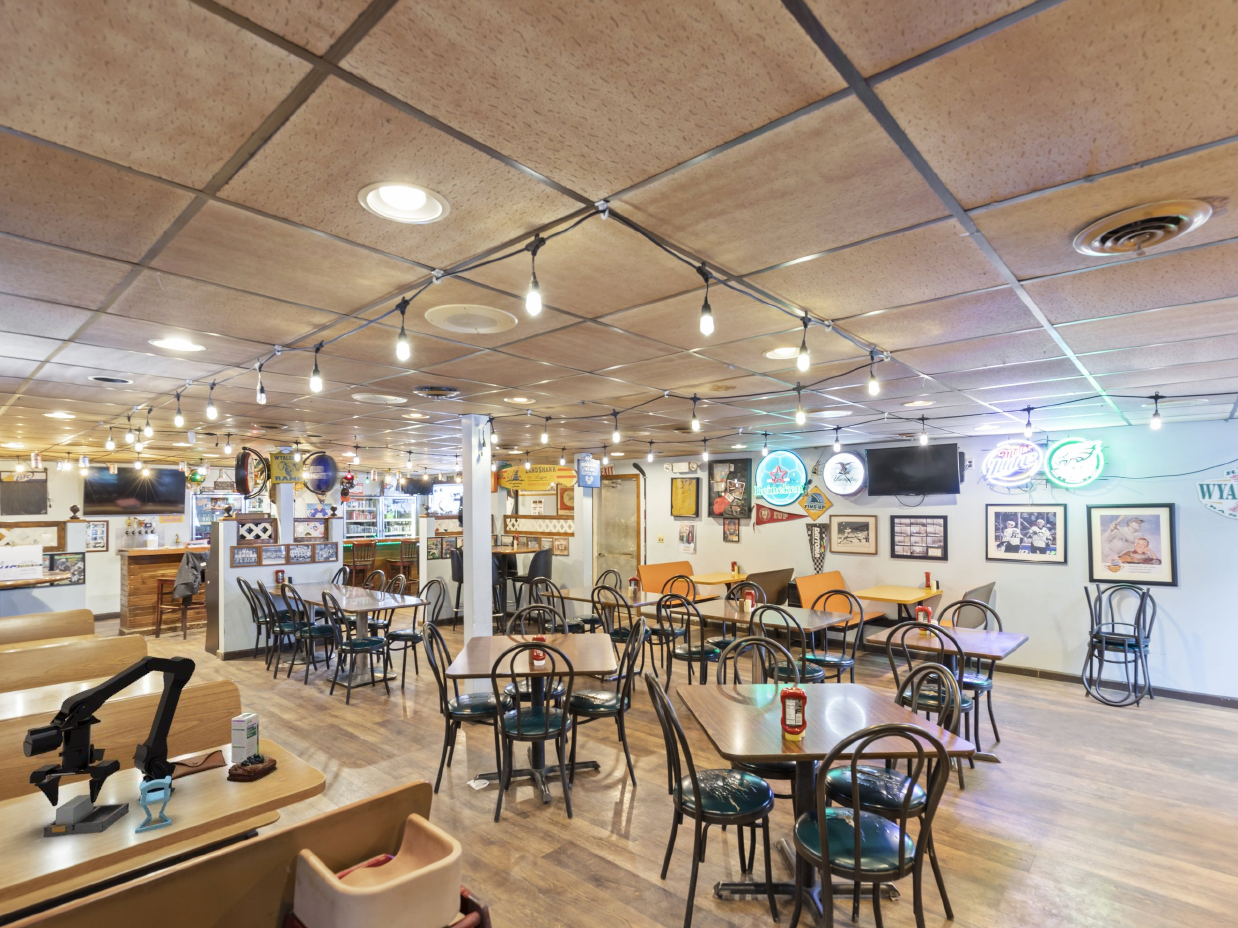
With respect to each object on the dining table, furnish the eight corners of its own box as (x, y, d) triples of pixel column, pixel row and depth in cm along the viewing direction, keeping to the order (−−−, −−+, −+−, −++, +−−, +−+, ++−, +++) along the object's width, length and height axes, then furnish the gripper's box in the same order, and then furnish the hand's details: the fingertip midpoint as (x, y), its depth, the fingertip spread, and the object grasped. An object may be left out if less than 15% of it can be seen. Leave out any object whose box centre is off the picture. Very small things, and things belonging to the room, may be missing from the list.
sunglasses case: (163, 782, 193) (161, 760, 195) (158, 789, 196) (156, 767, 199) (230, 764, 206) (227, 744, 208) (224, 770, 210) (221, 750, 212)
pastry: (221, 782, 193) (222, 762, 193) (250, 766, 205) (251, 747, 205) (253, 784, 191) (253, 764, 191) (281, 767, 203) (281, 749, 203)
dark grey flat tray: (128, 811, 174) (128, 802, 175) (101, 832, 163) (101, 822, 163) (74, 816, 173) (74, 807, 173) (42, 837, 161) (43, 827, 162)
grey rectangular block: (93, 812, 172) (94, 793, 172) (72, 827, 164) (73, 807, 164) (77, 814, 171) (77, 795, 172) (55, 828, 163) (56, 808, 164)
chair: (172, 812, 173) (173, 768, 174) (171, 824, 166) (172, 778, 167) (137, 821, 169) (139, 775, 170) (135, 833, 162) (136, 785, 163)
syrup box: (245, 763, 206) (246, 718, 207) (230, 762, 208) (231, 717, 209) (259, 756, 212) (259, 712, 213) (244, 755, 213) (244, 711, 214)
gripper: (133, 731, 178) (131, 787, 177) (59, 736, 176) (57, 793, 174) (107, 745, 167) (105, 806, 166) (28, 751, 165) (26, 812, 163)
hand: (74, 803), depth 168 cm, fingers open, 9 cm apart
